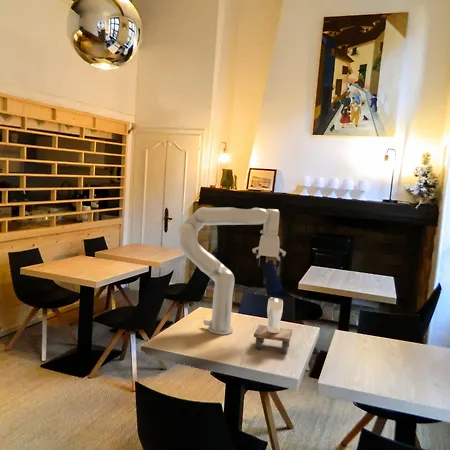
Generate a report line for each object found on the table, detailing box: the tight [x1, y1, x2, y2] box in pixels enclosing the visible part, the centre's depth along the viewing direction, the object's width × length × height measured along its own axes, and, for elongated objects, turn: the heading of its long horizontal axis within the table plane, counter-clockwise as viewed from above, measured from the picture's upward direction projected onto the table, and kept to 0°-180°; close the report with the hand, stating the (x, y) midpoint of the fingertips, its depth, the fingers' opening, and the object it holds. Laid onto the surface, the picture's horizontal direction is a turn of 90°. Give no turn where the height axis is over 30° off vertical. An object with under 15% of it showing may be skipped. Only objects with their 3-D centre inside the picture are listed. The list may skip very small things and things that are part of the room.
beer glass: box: [266, 297, 284, 334], centre depth 202 cm, size 7×7×15 cm
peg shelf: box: [253, 324, 293, 355], centre depth 203 cm, size 16×14×8 cm
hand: (267, 266), depth 223 cm, fingers open, 9 cm apart
